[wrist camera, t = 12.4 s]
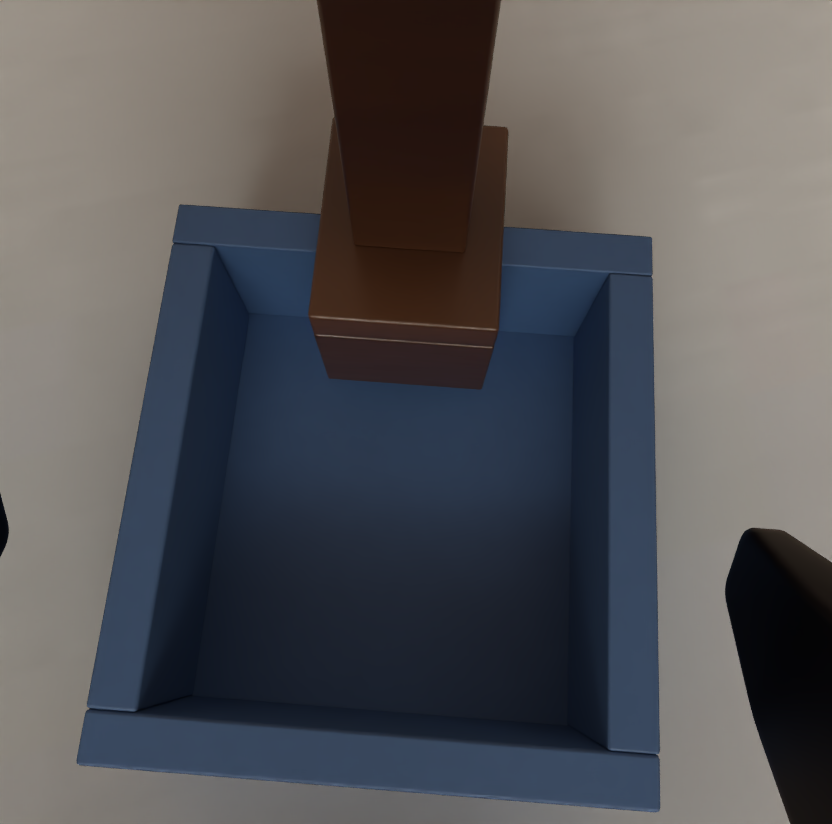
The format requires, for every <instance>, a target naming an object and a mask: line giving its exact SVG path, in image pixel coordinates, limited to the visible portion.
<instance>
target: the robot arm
mask: <svg viewBox="0 0 832 824" xmlns="http://www.w3.org/2000/svg"><path fill="white" fill-rule="evenodd" d="M8 534H9V527H8V521H7V517H6V514H5V510H4V506H3V502H2V498H1V494H0V556H1V554H2V552H3V550H4V548H5V546H6V543H7V540H8ZM725 597H726V603H727V608H728V612H729V616H730V621H731V625H732V629H733V634H734V638H735V642H736V647H737V651H738V655H739V660H740V664H741V668H742V673H743V677H744V682H745V686H746V690H747V695H748V699H749V703H750V706H751V710H752V714H753V718H754V721H755V724H756V727H757V730H758V733H759V736H760V739H761V742H762V745H763V748H764V751H765V753H766V756H767V759H768V762H769V765H770V768H771V770H772V773H773V776H774V779H775V782H776V785H777V787H778V790H779V793H780V796H781V799H782V802H783V804H784V807H785V810H786V813H787V816H788V818H789V821H790V824H832V562H830V561H829V560H827V559H826V558H824V557H823V556H821V555H820V554H818V553H817V552H815V551H814V550H812V549H811V548H809V547H808V546H806V545H805V544H803V543H802V542H800V541H799V540H797V539H796V538H794V537H793V536H791V535H790V534H788V533H787V532H785V531H782V530H776V529H762V528H750V529H748V530H746V531H745V532H744V533H743V535H742V536H741V539H740V541H739V544H738V547H737V550H736V553H735V556H734V559H733V562H732V565H731V568H730V571H729V574H728V577H727V581H726V587H725Z"/></svg>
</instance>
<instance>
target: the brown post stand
mask: <svg viewBox="0 0 832 824" xmlns="http://www.w3.org/2000/svg"><path fill="white" fill-rule="evenodd" d="M500 3H501V0H317V5H318V12H319V18H320V25H321V32H322V38H323V45H324V51H325V58H326V64H327V71H328V78H329V84H330V91H331V97H332V104H333V110H334V118H333V120H332V127H331V135H330V143H329V151H328V159H327V167H326V175H325V183H324V191H323V199H322V207H321V215H320V223H319V231H318V239H317V247H316V255H315V263H314V271H313V279H312V287H311V295H310V303H309V311H308V317H309V320H310V323H311V326H312V329H313V332H314V336H315V339H316V342H317V345H318V348H319V351H320V354H321V357H322V360H323V363H324V366H325V369H326V372H327V375H328V378H330V379H341V380H355V381H368V382H382V383H396V384H410V385H423V386H437V387H451V388H464V389H478V390H480V389H482V387H483V384H484V380H485V377H486V373H487V370H488V366H489V363H490V360H491V356H492V353H493V349H494V344H495V341H496V338H497V334H498V331H499V321H500V300H501V279H502V258H503V237H504V216H505V195H506V173H507V152H508V129H507V128H506V127H498V126H484V125H483V124H484V117H485V110H486V103H487V96H488V89H489V82H490V74H491V67H492V60H493V53H494V46H495V39H496V32H497V25H498V18H499V11H500Z"/></svg>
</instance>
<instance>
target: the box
mask: <svg viewBox="0 0 832 824" xmlns="http://www.w3.org/2000/svg"><path fill="white" fill-rule="evenodd" d="M320 215H321V214H312V213H298V212H283V211H269V210H254V209H240V208H225V207H211V206H196V205H182V204H181V205H179V209H178V214H177V219H176V225H175V230H174V236H173V243H174V244H173V245H172V249H171V255H170V260H169V265H168V271H167V276H166V282H165V287H164V292H163V298H162V303H161V308H160V314H159V319H158V325H157V330H156V335H155V341H154V346H153V351H152V357H151V362H150V368H149V373H148V378H147V384H146V389H145V395H144V400H143V405H142V411H141V416H140V421H139V427H138V432H137V438H136V443H135V448H134V454H133V459H132V464H131V470H130V475H129V481H128V486H127V491H126V497H125V502H124V508H123V513H122V518H121V524H120V529H119V534H118V540H117V545H116V551H115V556H114V561H113V567H112V572H111V577H110V583H109V588H108V594H107V599H106V604H105V610H104V615H103V621H102V626H101V631H100V637H99V642H98V647H97V653H96V658H95V664H94V669H93V674H92V680H91V685H90V690H89V696H88V701H87V707H89V708H90V709H88V710H87V711H86V713H85V717H84V723H83V728H82V734H81V739H80V744H79V750H78V755H77V764H79V765H82V766H94V767H106V768H118V769H131V770H143V771H155V772H167V773H180V774H192V775H204V776H216V777H229V778H241V779H253V780H265V781H277V782H290V783H302V784H314V785H326V786H339V787H351V788H363V789H375V790H388V791H400V792H412V793H424V794H436V795H449V796H461V797H473V798H485V799H498V800H510V801H522V802H534V803H547V804H559V805H571V806H583V807H595V808H608V809H620V810H632V811H644V812H658V811H659V810H660V759H659V757H658V756H657V755H656V754H659V752H660V730H659V665H658V600H657V536H656V471H655V406H654V342H653V279H652V277H651V276H652V274H653V270H652V238H651V237H646V236H631V235H617V234H602V233H588V232H573V231H559V230H544V229H530V228H515V227H504V237H503V258H502V279H501V300H500V321H499V331H498V334H497V338H496V341H495V344H494V349H493V353H492V356H491V360H490V363H489V366H488V370H487V373H486V377H485V380H484V384H483V387H482V389H480V390H478V389H464V388H451V387H437V386H423V385H410V384H396V383H382V382H368V381H355V380H341V379H330V378H328V375H327V372H326V369H325V366H324V363H323V360H322V357H321V354H320V351H319V348H318V345H317V342H316V339H315V336H314V332H313V329H312V326H311V323H310V320H309V317H308V311H309V303H310V295H311V287H312V279H313V271H314V263H315V255H316V247H317V239H318V231H319V223H320Z"/></svg>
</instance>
